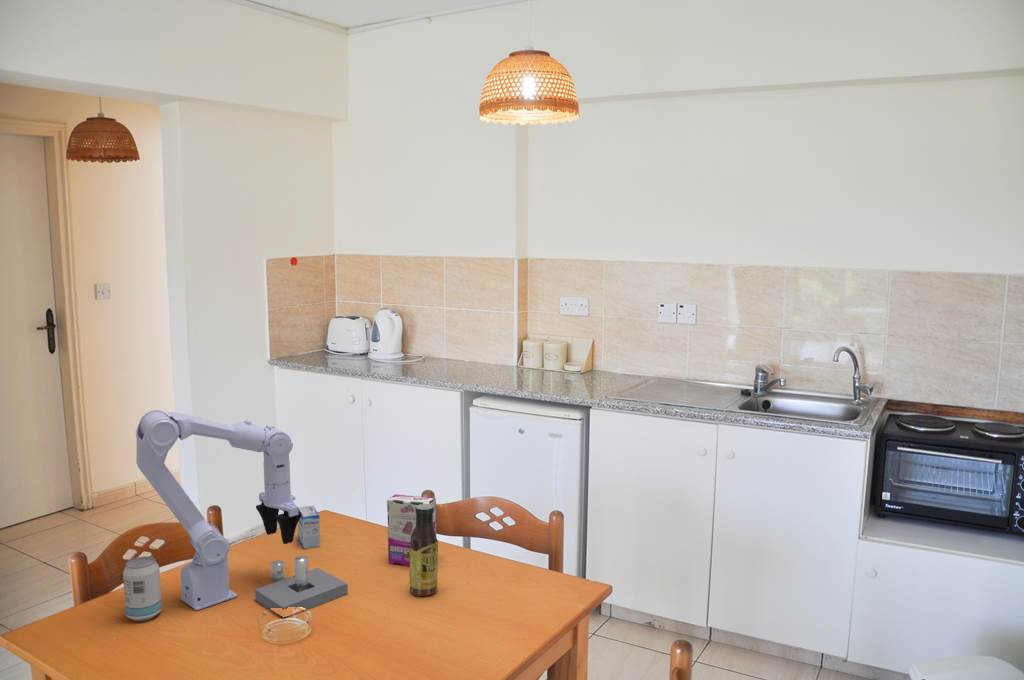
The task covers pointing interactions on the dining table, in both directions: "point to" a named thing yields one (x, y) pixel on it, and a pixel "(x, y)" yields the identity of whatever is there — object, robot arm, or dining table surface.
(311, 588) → the hole board
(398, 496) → the candy bar box
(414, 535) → the sauce bottle
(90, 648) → the dining table surface
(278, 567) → the short pin
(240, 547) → the dining table surface
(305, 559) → the tall pin
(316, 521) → the medicine box
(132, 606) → the beverage can
